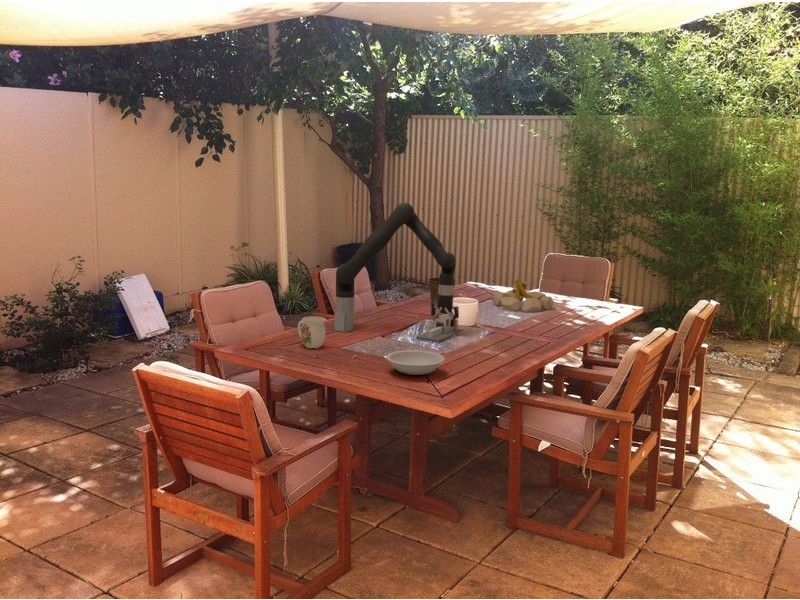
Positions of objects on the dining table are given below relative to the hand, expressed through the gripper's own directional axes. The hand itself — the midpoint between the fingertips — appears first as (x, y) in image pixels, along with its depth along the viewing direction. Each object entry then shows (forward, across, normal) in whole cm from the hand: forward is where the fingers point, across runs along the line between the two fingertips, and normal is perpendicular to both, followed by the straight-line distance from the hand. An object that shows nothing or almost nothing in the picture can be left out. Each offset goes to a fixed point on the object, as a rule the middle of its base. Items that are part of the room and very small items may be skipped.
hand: (444, 325), depth 390 cm
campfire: (+5, +5, +94) cm, 94 cm away
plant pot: (+5, -35, +64) cm, 73 cm away
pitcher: (+5, -38, -59) cm, 70 cm away
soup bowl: (+5, +22, -69) cm, 73 cm away
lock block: (+3, 0, 0) cm, 3 cm away
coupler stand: (+5, 0, -4) cm, 6 cm away
